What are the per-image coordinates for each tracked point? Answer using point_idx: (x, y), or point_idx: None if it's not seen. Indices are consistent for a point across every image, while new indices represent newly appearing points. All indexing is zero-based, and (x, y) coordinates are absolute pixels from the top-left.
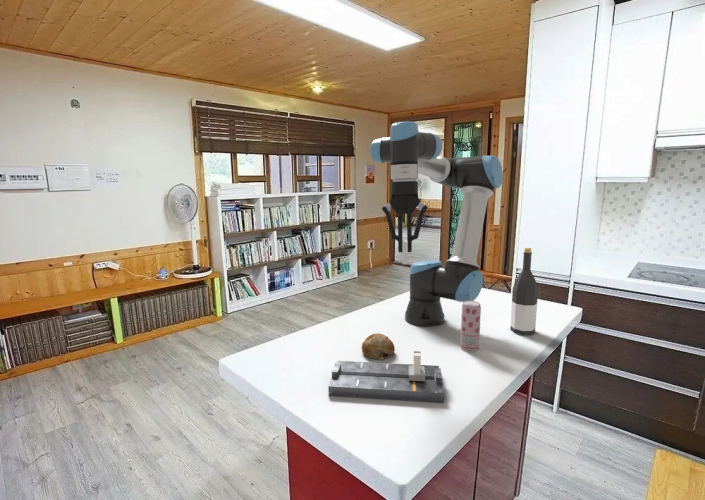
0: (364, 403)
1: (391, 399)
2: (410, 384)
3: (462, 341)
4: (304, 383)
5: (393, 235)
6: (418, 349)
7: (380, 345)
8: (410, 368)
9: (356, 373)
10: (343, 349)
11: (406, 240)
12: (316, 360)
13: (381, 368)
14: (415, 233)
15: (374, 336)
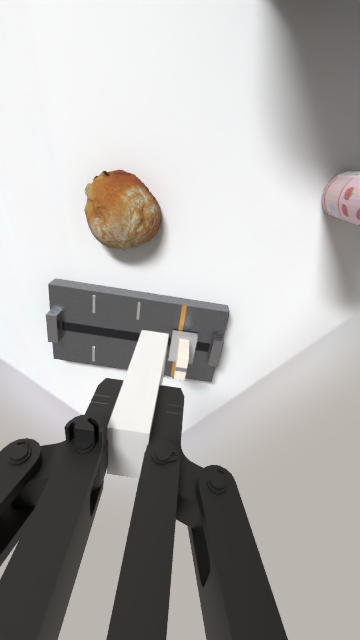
0: (109, 367)
1: None
2: (169, 361)
3: (329, 205)
4: (15, 319)
5: (17, 513)
6: (185, 360)
7: (124, 245)
8: (173, 343)
9: (88, 329)
10: (46, 188)
11: (141, 438)
12: (5, 242)
13: (128, 315)
14: (199, 557)
15: (107, 224)
